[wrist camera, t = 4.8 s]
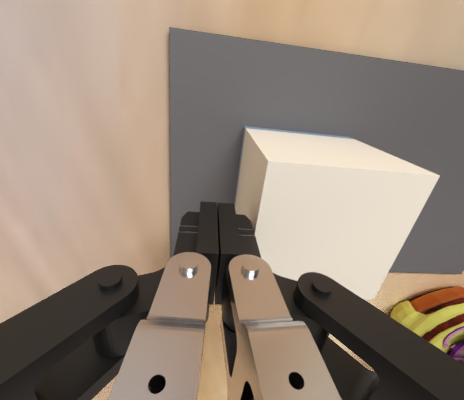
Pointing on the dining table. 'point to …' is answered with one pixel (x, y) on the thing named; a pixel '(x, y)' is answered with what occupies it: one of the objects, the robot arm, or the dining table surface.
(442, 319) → the cheeseburger
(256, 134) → the cream cube
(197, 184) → the rubber mat
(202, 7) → the dining table surface
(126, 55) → the dining table surface
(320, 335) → the robot arm
